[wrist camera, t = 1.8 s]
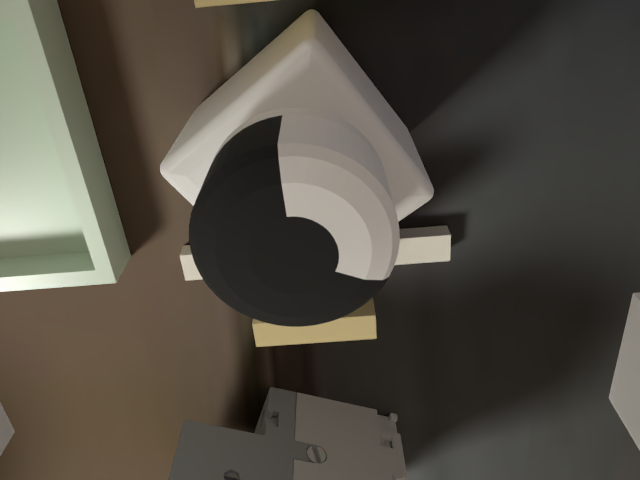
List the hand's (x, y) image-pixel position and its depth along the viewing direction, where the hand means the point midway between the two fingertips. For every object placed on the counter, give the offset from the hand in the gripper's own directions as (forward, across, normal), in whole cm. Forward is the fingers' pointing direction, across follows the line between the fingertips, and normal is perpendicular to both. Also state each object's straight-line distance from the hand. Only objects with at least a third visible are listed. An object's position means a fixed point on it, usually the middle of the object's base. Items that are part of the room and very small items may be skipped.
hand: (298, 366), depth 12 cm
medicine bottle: (+17, 0, 0) cm, 17 cm away
